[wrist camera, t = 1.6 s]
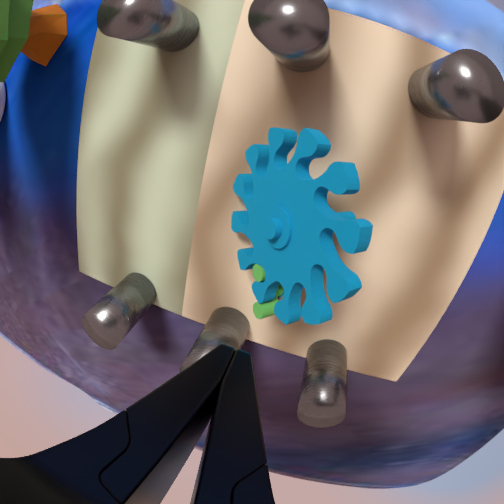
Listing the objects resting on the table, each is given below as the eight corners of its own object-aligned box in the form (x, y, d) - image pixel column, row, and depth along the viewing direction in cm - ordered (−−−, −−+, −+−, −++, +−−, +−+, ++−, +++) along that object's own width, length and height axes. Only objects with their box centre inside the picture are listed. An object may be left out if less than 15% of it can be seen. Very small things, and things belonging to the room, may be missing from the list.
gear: (244, 99, 15) (391, 189, 9) (324, 113, 18) (455, 192, 12) (209, 259, 22) (286, 379, 15) (278, 248, 25) (360, 344, 18)
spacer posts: (461, 80, 13) (510, 72, 8) (337, 372, 24) (333, 431, 18) (161, 8, 15) (105, -15, 10) (124, 297, 26) (84, 338, 20)
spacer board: (525, 102, 12) (528, 102, 12) (395, 378, 23) (396, 381, 23) (109, -2, 15) (106, -3, 15) (81, 269, 26) (79, 271, 26)
